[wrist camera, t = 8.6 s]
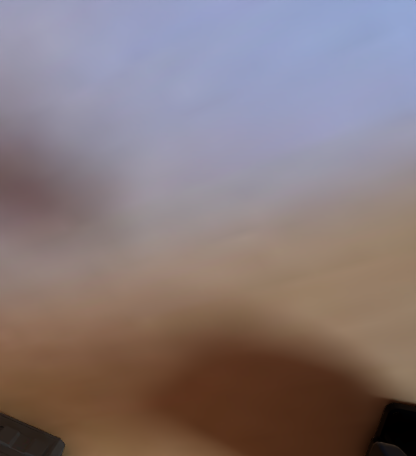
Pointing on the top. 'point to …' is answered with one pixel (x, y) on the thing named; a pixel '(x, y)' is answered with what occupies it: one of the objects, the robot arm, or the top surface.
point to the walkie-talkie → (26, 439)
